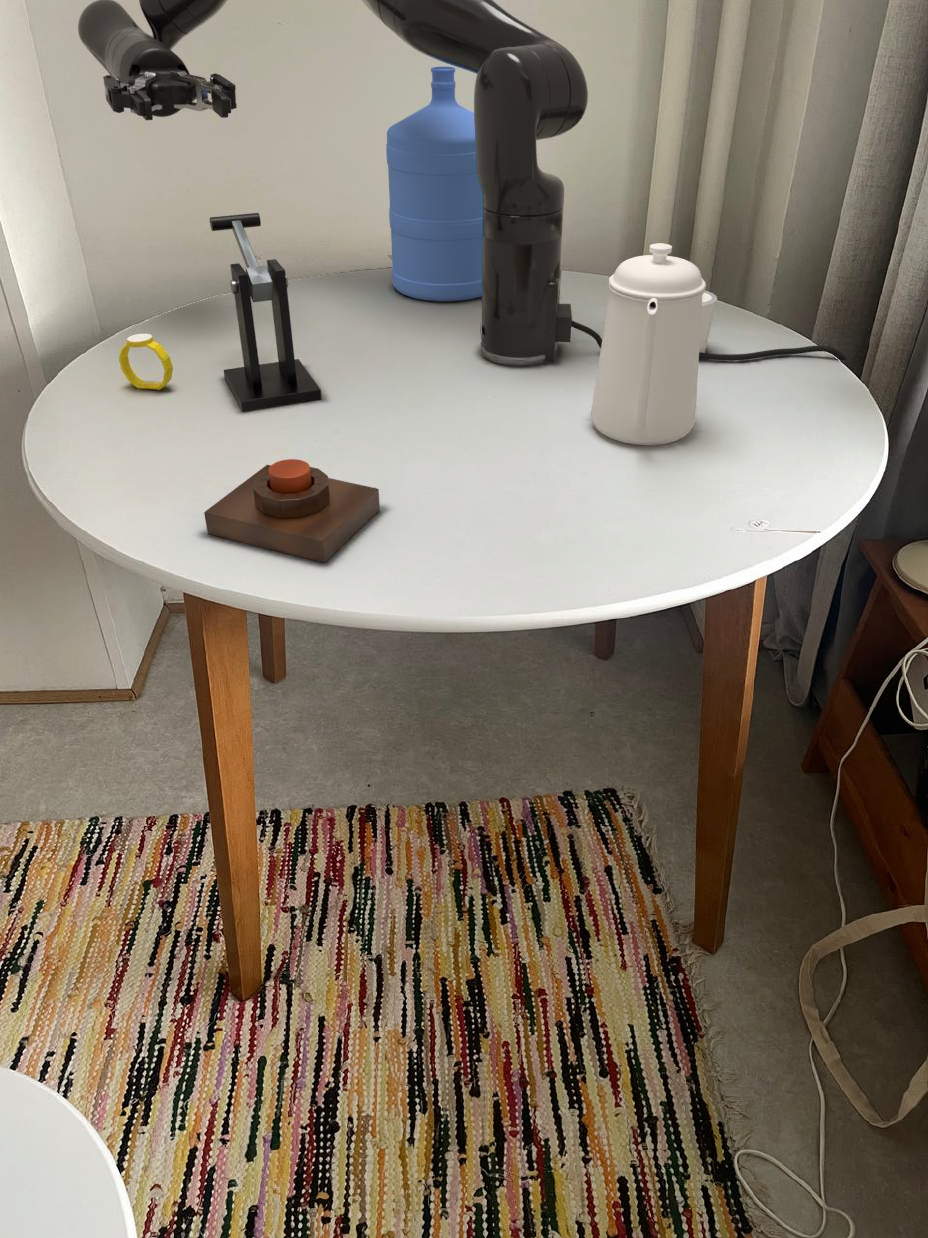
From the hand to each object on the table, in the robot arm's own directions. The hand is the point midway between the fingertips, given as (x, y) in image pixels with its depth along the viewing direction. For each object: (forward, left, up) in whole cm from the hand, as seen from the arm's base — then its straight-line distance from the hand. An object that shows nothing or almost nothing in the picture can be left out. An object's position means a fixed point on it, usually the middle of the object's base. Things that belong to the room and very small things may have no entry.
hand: (187, 109), depth 111 cm
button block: (-22, +43, -27) cm, 55 cm away
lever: (-8, +9, -14) cm, 18 cm away
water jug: (-25, -26, -27) cm, 45 cm away
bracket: (-11, +14, -27) cm, 32 cm away
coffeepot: (-53, +19, -27) cm, 62 cm away
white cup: (-58, -4, -27) cm, 64 cm away
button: (-22, +43, -23) cm, 53 cm away
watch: (+3, +15, -27) cm, 31 cm away
